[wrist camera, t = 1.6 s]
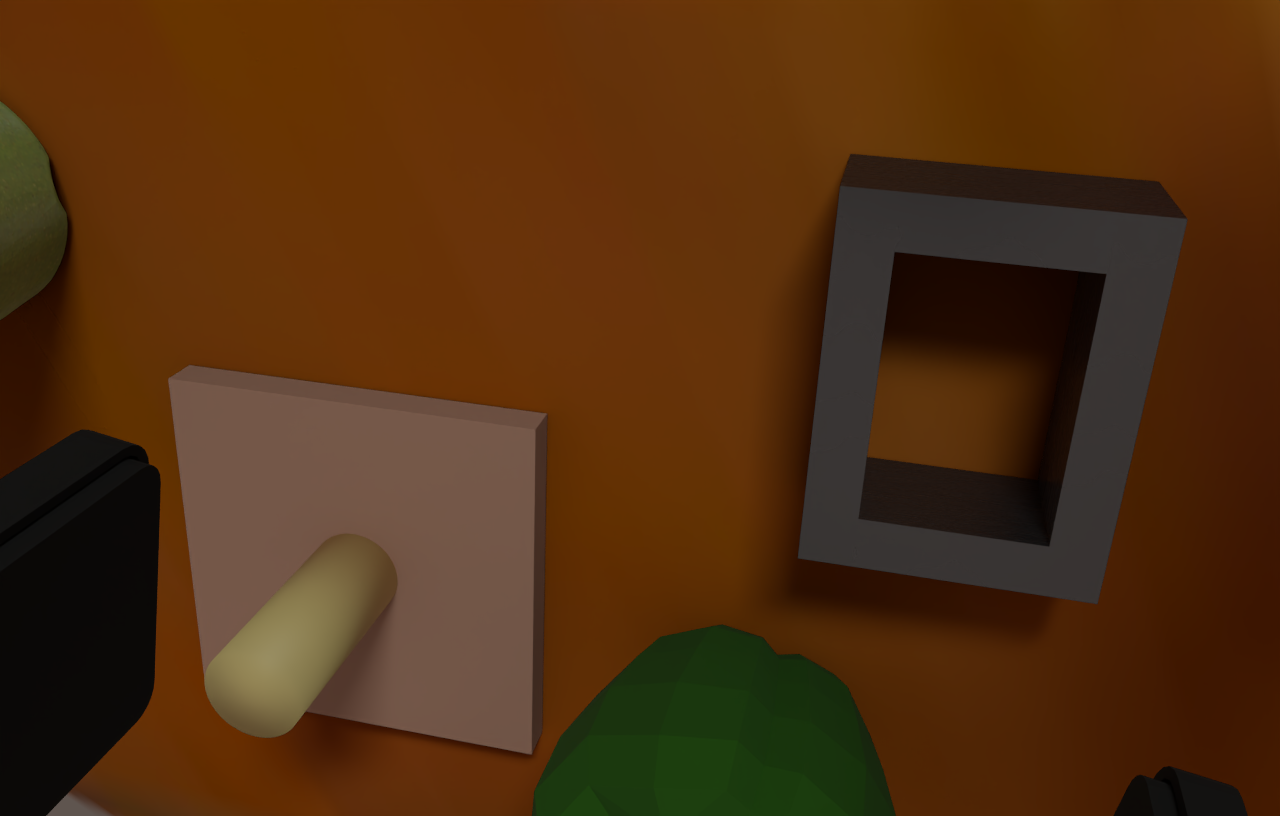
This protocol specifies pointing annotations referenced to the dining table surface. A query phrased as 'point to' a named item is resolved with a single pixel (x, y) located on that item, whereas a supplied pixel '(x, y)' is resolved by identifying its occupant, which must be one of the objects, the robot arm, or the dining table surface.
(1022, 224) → the dark grey rectangular frame
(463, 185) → the dining table surface
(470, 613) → the keeper
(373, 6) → the dining table surface
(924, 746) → the dining table surface
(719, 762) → the bell pepper
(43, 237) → the plant pot
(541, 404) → the dining table surface
